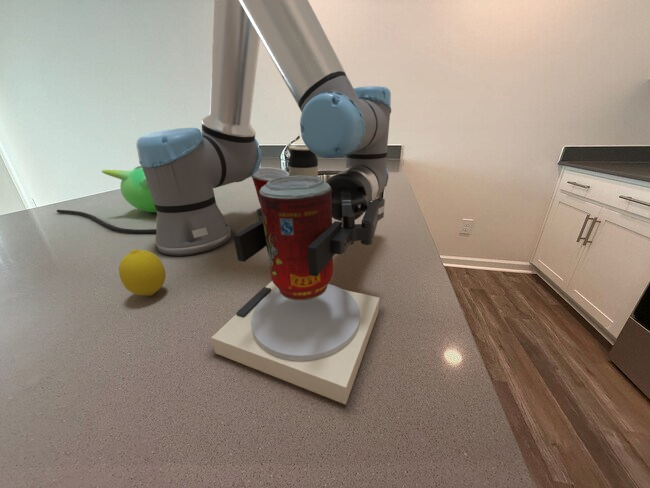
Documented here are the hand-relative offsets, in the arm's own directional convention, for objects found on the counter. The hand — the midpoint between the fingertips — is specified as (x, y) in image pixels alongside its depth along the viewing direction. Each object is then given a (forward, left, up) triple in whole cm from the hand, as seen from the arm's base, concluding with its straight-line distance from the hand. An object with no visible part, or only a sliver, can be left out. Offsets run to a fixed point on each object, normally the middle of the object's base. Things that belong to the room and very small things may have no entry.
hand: (273, 254), depth 23 cm
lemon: (-26, +3, -14) cm, 30 cm away
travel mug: (-22, +48, -13) cm, 55 cm away
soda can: (0, +5, -7) cm, 8 cm away
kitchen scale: (0, +5, -13) cm, 14 cm away
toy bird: (-65, +34, -14) cm, 75 cm away
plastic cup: (-31, +45, -14) cm, 56 cm away
